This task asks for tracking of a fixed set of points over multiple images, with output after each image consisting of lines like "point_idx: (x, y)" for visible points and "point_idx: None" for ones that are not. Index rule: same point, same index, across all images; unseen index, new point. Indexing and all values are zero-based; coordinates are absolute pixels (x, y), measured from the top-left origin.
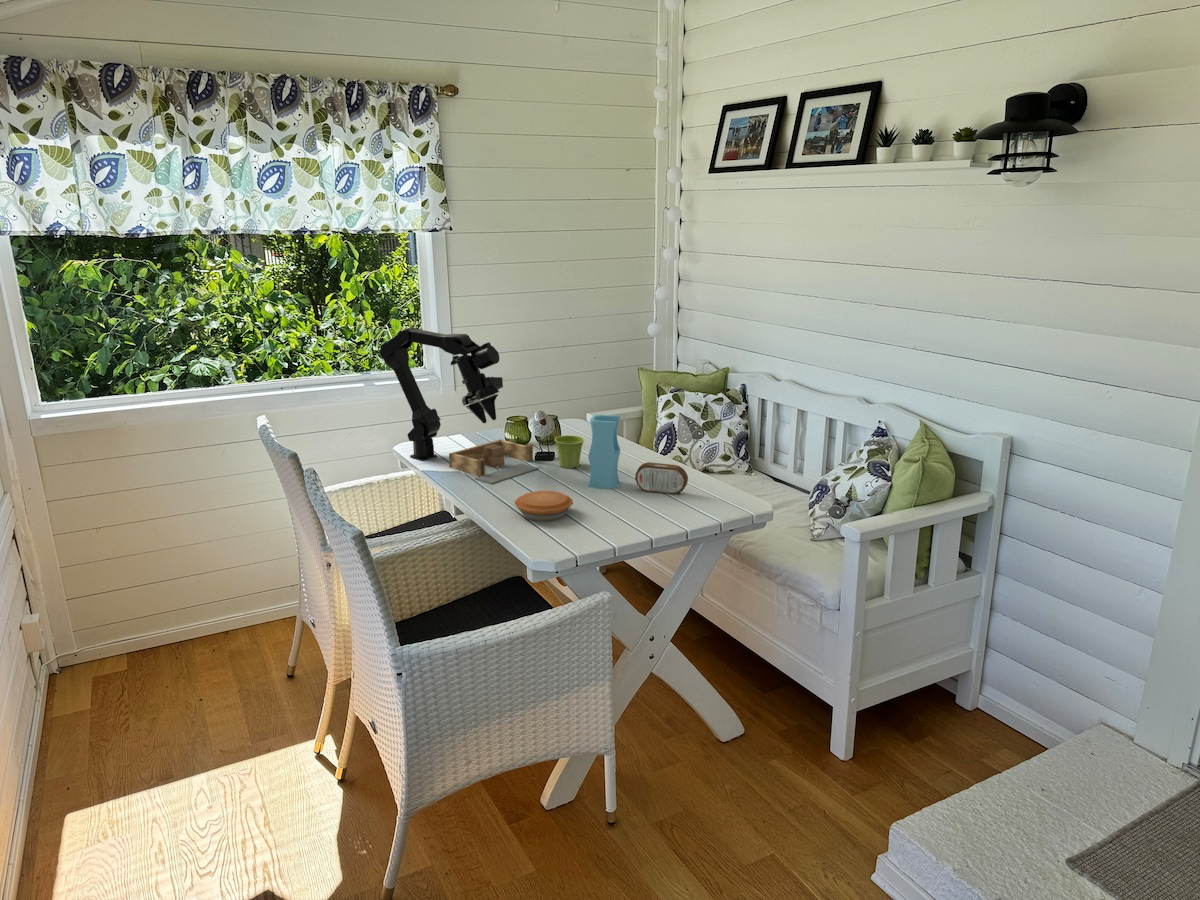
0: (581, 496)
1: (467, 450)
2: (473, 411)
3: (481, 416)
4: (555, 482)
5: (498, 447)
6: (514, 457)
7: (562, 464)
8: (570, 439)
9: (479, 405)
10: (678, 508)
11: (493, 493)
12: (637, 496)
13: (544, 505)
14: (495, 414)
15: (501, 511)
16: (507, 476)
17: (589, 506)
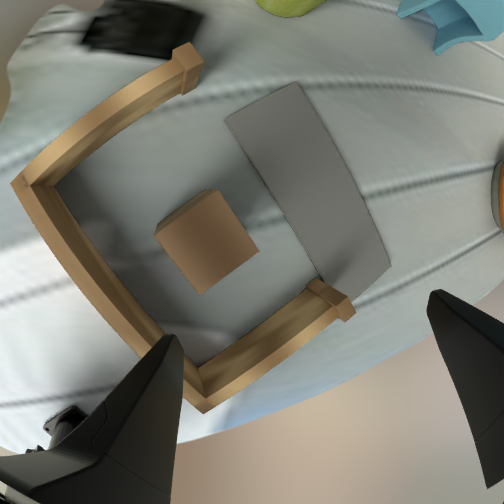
0: (470, 98)
1: None
2: (171, 484)
3: (168, 402)
4: (410, 96)
5: (229, 219)
6: (117, 132)
7: (303, 13)
8: None
9: (119, 491)
10: None
11: (435, 265)
12: None
13: None
14: (468, 306)
15: (487, 260)
16: (358, 209)
17: (494, 115)
